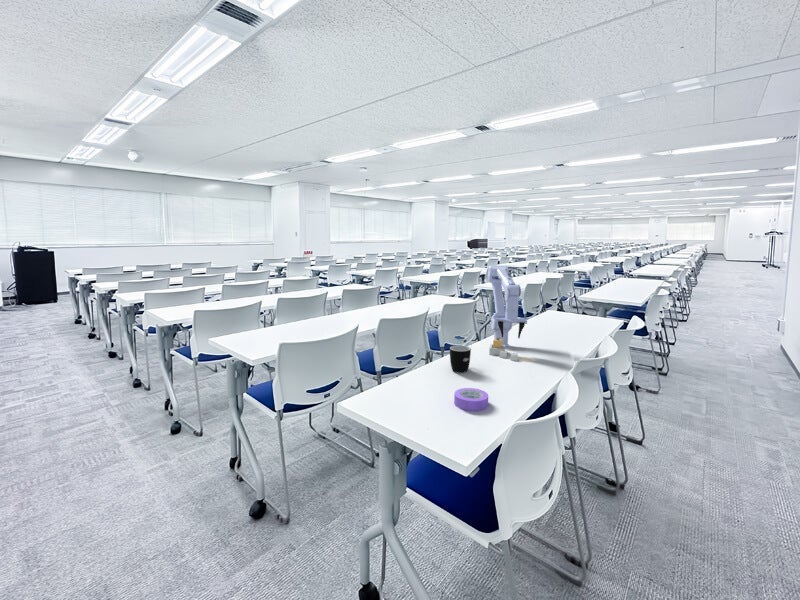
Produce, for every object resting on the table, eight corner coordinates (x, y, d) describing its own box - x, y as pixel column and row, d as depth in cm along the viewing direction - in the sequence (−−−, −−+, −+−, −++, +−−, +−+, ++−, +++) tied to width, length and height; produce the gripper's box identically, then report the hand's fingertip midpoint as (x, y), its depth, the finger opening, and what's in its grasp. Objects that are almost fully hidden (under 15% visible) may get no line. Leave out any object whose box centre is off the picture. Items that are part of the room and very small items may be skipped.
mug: (463, 375, 160) (463, 352, 158) (445, 371, 166) (445, 348, 164) (477, 368, 169) (477, 346, 167) (459, 363, 175) (460, 342, 173)
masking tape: (464, 394, 141) (464, 384, 140) (493, 403, 134) (494, 392, 133) (447, 405, 132) (447, 395, 131) (478, 415, 125) (478, 404, 124)
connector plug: (493, 352, 189) (494, 336, 188) (501, 352, 188) (502, 337, 186) (492, 354, 185) (493, 338, 184) (501, 355, 184) (501, 339, 183)
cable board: (489, 351, 193) (489, 343, 192) (535, 355, 186) (535, 346, 185) (487, 361, 177) (487, 352, 177) (537, 365, 171) (537, 356, 170)
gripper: (495, 310, 181) (494, 338, 183) (527, 312, 176) (526, 340, 178) (496, 308, 187) (495, 334, 189) (527, 309, 183) (526, 336, 185)
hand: (510, 337), depth 184 cm, fingers open, 7 cm apart
